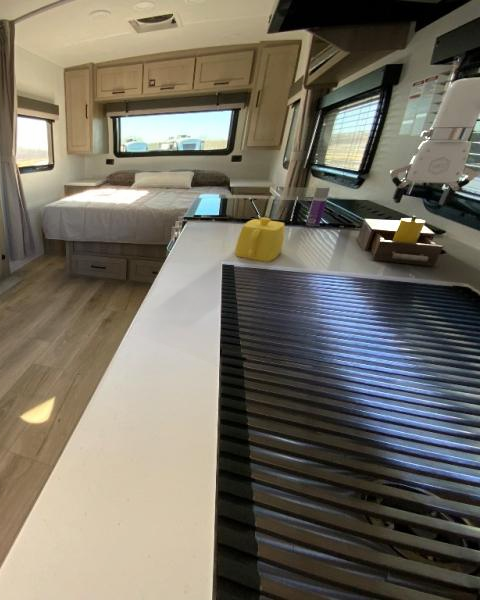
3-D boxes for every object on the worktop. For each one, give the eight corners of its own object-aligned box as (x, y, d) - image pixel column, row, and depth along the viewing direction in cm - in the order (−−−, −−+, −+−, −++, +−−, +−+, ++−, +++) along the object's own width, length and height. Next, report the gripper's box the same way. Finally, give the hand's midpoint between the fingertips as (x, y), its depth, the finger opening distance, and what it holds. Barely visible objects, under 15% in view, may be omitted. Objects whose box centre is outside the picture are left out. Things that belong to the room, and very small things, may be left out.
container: (321, 226, 135) (333, 187, 128) (310, 226, 135) (320, 188, 129) (314, 223, 139) (325, 186, 133) (303, 223, 140) (313, 186, 133)
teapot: (248, 242, 120) (255, 209, 115) (286, 248, 113) (295, 213, 107) (228, 257, 107) (234, 221, 102) (270, 265, 100) (279, 227, 94)
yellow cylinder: (408, 251, 100) (424, 214, 95) (412, 257, 96) (430, 218, 91) (386, 249, 102) (400, 213, 97) (389, 254, 98) (405, 217, 93)
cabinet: (424, 258, 100) (435, 233, 97) (363, 252, 107) (372, 229, 103) (410, 244, 111) (420, 222, 108) (356, 239, 118) (364, 218, 115)
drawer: (438, 271, 89) (449, 251, 86) (375, 264, 95) (383, 245, 93) (419, 251, 103) (427, 233, 100) (365, 246, 109) (371, 229, 106)
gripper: (408, 136, 86) (382, 203, 94) (504, 135, 78) (467, 208, 86) (400, 135, 92) (376, 199, 99) (489, 134, 84) (456, 203, 92)
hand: (418, 203), depth 93 cm, fingers open, 9 cm apart
